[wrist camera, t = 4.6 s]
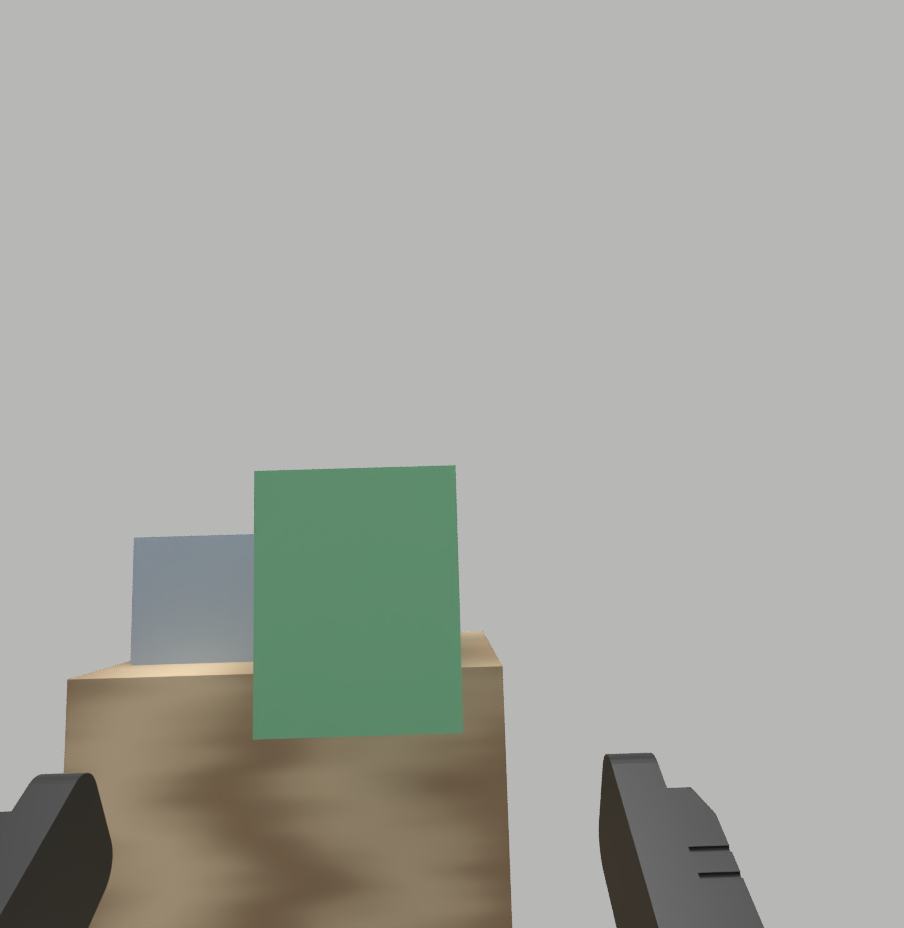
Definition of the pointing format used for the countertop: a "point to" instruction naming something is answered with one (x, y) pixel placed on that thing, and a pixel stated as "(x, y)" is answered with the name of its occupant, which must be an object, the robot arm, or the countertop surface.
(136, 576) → the slate-blue brick
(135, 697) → the oak shelf block
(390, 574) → the green bar
